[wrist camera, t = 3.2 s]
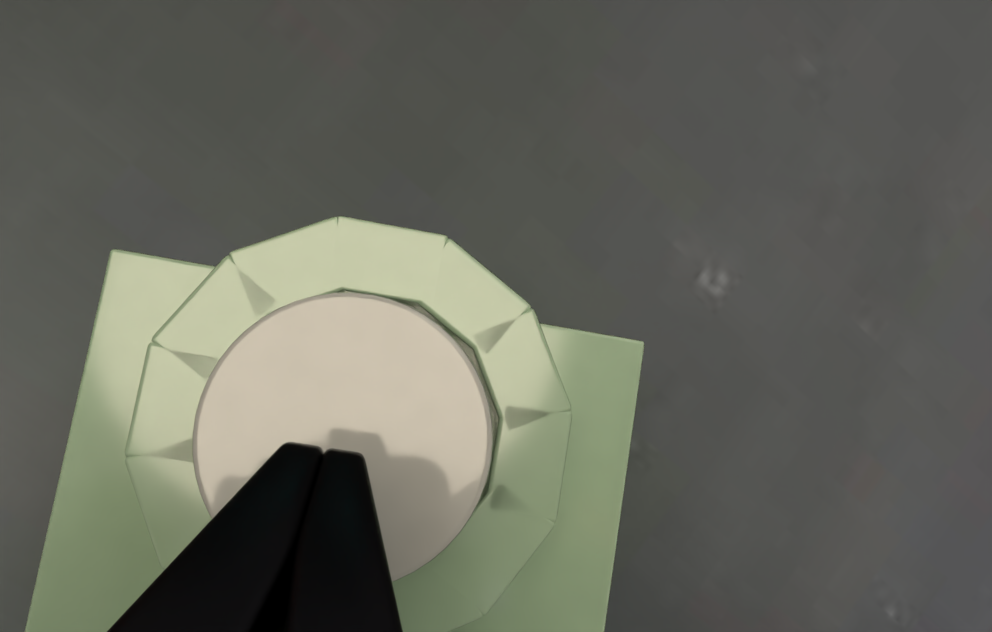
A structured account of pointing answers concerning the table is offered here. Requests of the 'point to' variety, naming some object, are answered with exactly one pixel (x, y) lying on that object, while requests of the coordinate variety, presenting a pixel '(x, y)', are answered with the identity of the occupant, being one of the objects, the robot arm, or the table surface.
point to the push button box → (337, 269)
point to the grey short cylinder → (354, 413)
